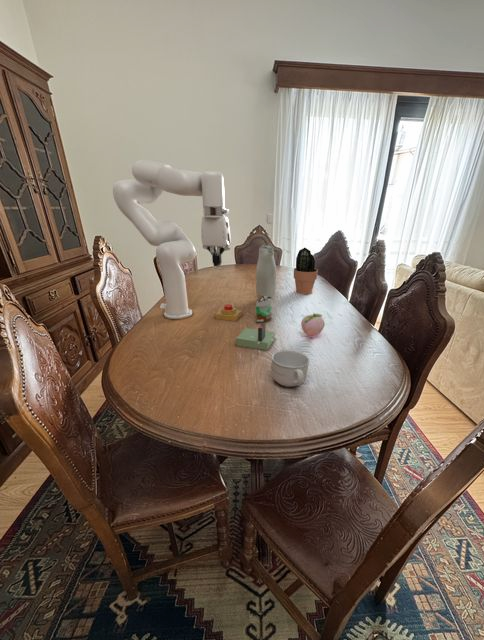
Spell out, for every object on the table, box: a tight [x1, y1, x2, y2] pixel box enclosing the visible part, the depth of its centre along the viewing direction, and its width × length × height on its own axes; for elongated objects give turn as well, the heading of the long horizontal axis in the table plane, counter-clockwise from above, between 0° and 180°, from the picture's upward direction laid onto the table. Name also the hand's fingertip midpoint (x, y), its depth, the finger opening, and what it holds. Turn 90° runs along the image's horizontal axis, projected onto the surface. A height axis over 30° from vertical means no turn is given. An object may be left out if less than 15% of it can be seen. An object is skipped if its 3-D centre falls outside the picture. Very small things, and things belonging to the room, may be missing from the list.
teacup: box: [270, 349, 310, 388], centre depth 82 cm, size 14×11×8 cm
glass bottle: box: [255, 244, 277, 300], centre depth 146 cm, size 10×10×28 cm
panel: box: [235, 327, 276, 351], centre depth 106 cm, size 13×12×3 cm
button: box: [223, 303, 233, 310], centre depth 129 cm, size 4×4×2 cm
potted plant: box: [293, 247, 319, 295], centre depth 162 cm, size 14×14×25 cm
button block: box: [214, 305, 243, 322], centre depth 130 cm, size 10×8×4 cm
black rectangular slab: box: [257, 323, 266, 342], centre depth 102 cm, size 4×1×5 cm, turn 163°
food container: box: [255, 294, 274, 324], centre depth 126 cm, size 12×6×10 cm, turn 168°
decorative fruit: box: [300, 313, 326, 337], centre depth 111 cm, size 9×8×10 cm
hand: (217, 265), depth 109 cm, fingers closed
